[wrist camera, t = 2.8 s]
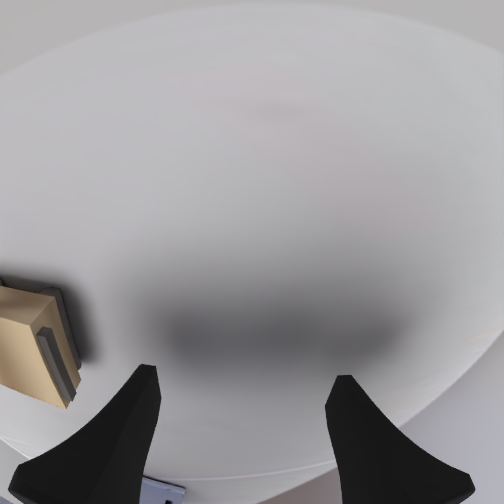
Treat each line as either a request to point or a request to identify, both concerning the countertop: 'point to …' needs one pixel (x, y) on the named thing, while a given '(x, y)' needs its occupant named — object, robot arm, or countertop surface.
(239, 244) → the countertop surface
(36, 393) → the tan cardboard box
